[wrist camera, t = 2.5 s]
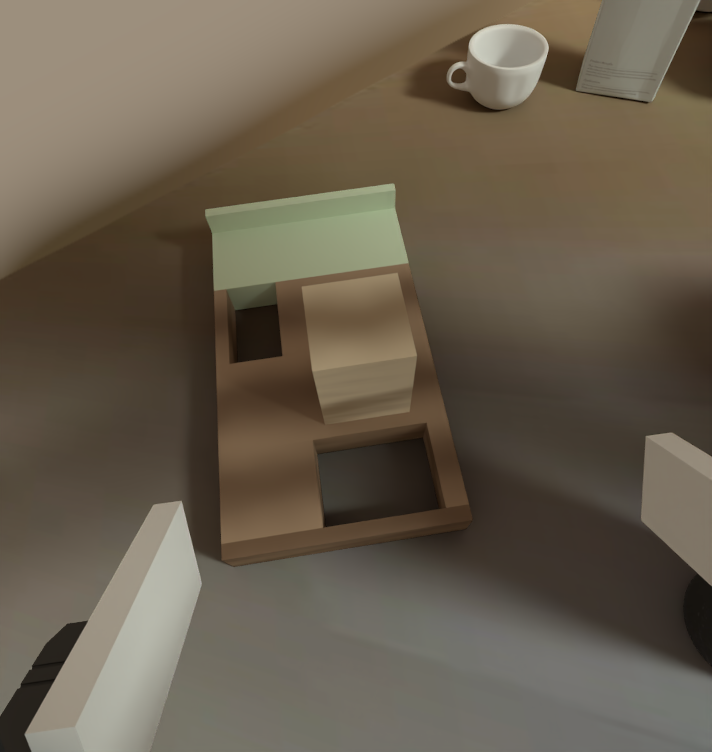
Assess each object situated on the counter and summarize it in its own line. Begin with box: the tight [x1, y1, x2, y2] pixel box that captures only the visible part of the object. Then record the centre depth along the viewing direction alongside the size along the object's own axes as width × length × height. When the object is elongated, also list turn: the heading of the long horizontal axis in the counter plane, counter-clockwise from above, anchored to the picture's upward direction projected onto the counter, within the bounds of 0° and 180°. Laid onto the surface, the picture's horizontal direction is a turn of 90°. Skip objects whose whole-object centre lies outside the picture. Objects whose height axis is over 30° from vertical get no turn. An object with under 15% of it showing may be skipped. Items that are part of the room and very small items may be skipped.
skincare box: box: [576, 0, 700, 102], centre depth 50 cm, size 8×6×15 cm
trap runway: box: [214, 263, 473, 567], centre depth 39 cm, size 21×16×3 cm
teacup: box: [446, 24, 549, 110], centre depth 54 cm, size 10×8×5 cm
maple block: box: [302, 273, 417, 425], centre depth 34 cm, size 6×6×8 cm
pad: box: [205, 184, 408, 310], centre depth 45 cm, size 7×16×5 cm, turn 99°
